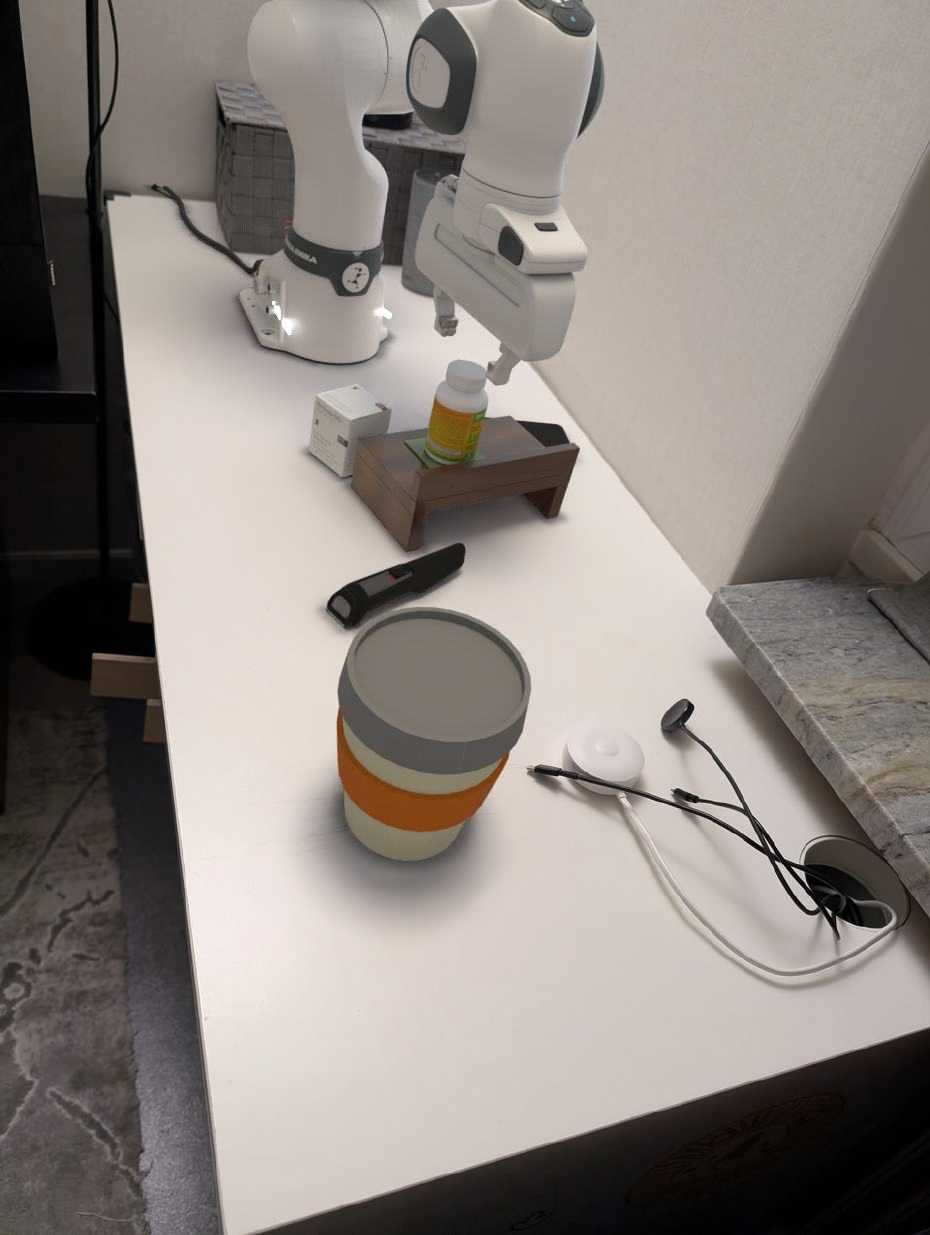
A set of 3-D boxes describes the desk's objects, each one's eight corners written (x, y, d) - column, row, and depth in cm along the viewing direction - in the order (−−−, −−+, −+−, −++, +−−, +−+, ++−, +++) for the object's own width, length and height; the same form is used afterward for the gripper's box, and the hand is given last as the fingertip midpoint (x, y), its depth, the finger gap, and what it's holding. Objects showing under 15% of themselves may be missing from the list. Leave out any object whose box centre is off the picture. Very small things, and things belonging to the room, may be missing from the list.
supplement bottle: (468, 473, 92) (489, 388, 86) (418, 458, 92) (435, 372, 86) (478, 448, 96) (499, 365, 90) (430, 434, 96) (447, 350, 90)
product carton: (307, 452, 100) (313, 393, 95) (349, 438, 104) (356, 381, 99) (342, 479, 98) (350, 420, 93) (383, 464, 101) (393, 407, 97)
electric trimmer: (470, 578, 90) (477, 553, 88) (348, 632, 80) (353, 605, 78) (445, 557, 91) (451, 532, 89) (323, 607, 82) (326, 581, 80)
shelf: (350, 486, 97) (361, 412, 91) (498, 459, 107) (516, 391, 102) (406, 551, 90) (421, 477, 85) (557, 516, 101) (580, 448, 95)
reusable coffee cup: (399, 719, 74) (431, 580, 64) (518, 814, 69) (572, 679, 59) (283, 803, 65) (299, 658, 56) (409, 918, 61) (451, 781, 51)
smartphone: (577, 455, 110) (459, 445, 106) (575, 461, 111) (458, 452, 106) (561, 424, 115) (449, 413, 111) (559, 430, 116) (447, 419, 112)
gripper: (413, 165, 82) (389, 308, 91) (542, 263, 71) (500, 415, 80) (469, 167, 85) (440, 305, 95) (601, 261, 74) (554, 407, 84)
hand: (469, 356), depth 87 cm, fingers open, 8 cm apart
